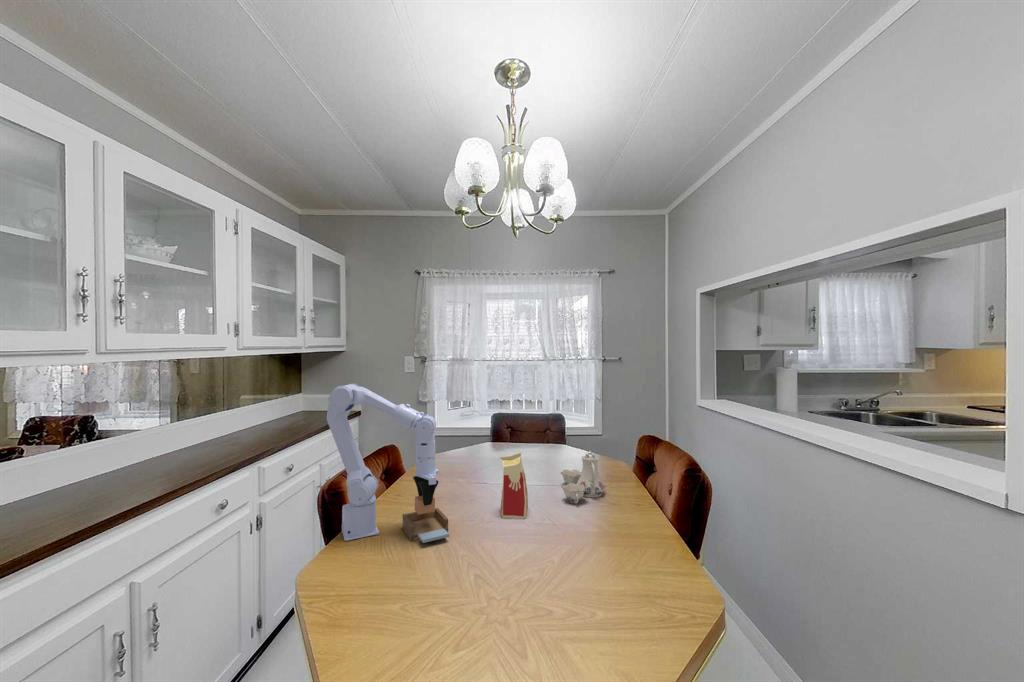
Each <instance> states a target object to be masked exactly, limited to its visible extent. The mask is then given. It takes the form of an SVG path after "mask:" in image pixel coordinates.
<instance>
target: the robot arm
mask: <svg viewBox="0 0 1024 682" xmlns="http://www.w3.org/2000/svg"><path fill="white" fill-rule="evenodd" d="M327 400H328V406H327V414H326V422H327V424H328V427H329V430H330V432H331V434H332V437H333V439H334V442H335V444H336V448H337V450H338V453H339V455H340V458H341V461H342V463H343V466H344V470H345V471H346V475H347V477H346V483H345V484H346V486H347V487H346V488H347V499H348V502H349V503H347V504H343V505H342V510H341V513H342V514H341V518H342V519H341V533H342V536H343V540H344V541H345V542H347V541H352V540H356V539H361V538H366V537H370V536H371V537H372V536H377V535H379V534H380V531H379V529H378V527H377V497H376V495H375V493H376V492H377V490H378V488H379V481H378V479H377V478H376V477H375V475H373V473H372V472H371V469H370V468H369V467H367V466H366V465H365V461H364V459H363V456H362V454H361V452H360V449H359V446H358V444H357V440H356V438H355V435H354V433H353V430H352V427H351V425H350V422H349V419H348V416H349V415H350V413H351V411H352V410H353V408H354V407H355V406H360V405H367V406H370V407H371V408H374V409H376V410H379V411H381V412H384V413H385V414H387V415H390V416H391V419H392V421H393V422H394V423H396V424H399V425H400V426H402V427H404V428H407V429H408V430H411V431H413V432H414V434H415V435H416V438H415V440H416V441H415V471H414V476H413V477H412V479H413V481H414V482H415V485H416V489H417V494H418V496H422V497H423V503H424V506H426V505H431V503H432V500H433V496H434V495H435V491H436V488H437V487H438V485H439V481H438V479H437V476H436V474H438V473H440V470H439V469H438V468H436V435H435V434H436V433H435V430H436V429H437V421H436V418H435V417H433V416H432V415H431V414H427V413H426V414H425V412H423V411H418V410H416V409H414V408H412V407H411V404H409V403H406V404H404V403H400V404H395V403H393V402H391V401H389V400H388V399H386V398H384V397H383V396H380V395H379V394H377V393H375V392H373V391H371V390H370V389H368V388H366V387H364V386H359V385H358V384H357V383H347V384H346V385H339V386H336V387H335V388H334V389H333V390H332V391H331V392H330V394H329V396H328V397H327Z"/></svg>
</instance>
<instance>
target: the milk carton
mask: <svg viewBox="0 0 1024 682" xmlns="http://www.w3.org/2000/svg"><path fill="white" fill-rule="evenodd" d="M499 458H500V459H501V462H502V466H503V474H502V475H503V476H502V479H503V480H502V491H501V492H502V493H501V500H500V502H501V503H500V508H499V509H500V510H499V513H500V516H501V518H503V519H520V520H521V519H522V520H526V518H527V514H528V510H529V495H528V485H527V479H526V473H525V470H524V465H523V462H522V451H519V452H517V453H515V454H512V455H506V456H499Z"/></svg>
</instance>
